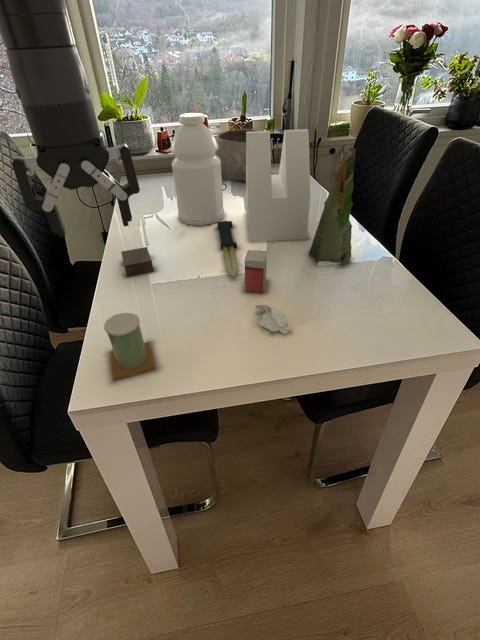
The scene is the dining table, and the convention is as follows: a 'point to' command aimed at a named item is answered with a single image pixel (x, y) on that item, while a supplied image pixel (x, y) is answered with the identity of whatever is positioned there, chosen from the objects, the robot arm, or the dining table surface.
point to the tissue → (273, 319)
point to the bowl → (233, 153)
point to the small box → (255, 271)
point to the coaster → (123, 373)
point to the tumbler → (126, 340)
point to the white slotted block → (278, 187)
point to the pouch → (336, 216)
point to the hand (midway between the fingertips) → (94, 229)
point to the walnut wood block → (137, 261)
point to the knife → (228, 246)
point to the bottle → (197, 172)
